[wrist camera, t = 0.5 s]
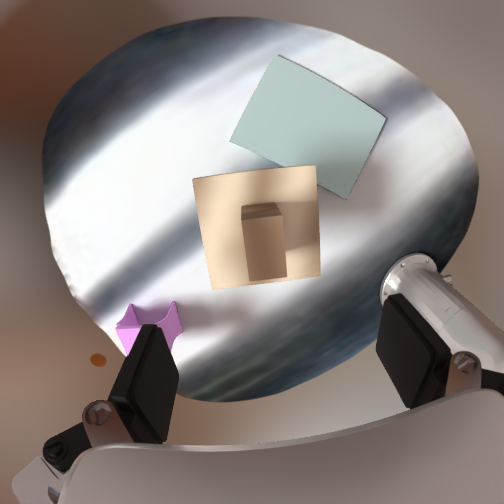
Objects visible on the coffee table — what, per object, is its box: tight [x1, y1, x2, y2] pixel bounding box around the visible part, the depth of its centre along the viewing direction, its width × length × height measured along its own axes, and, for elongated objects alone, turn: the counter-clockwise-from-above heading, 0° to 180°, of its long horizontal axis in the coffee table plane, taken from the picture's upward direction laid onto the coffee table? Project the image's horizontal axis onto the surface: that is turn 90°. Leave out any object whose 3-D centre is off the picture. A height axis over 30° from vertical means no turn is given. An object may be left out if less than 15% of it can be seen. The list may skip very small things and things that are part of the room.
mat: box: [230, 55, 386, 200], centre depth 33 cm, size 18×14×1 cm
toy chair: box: [116, 301, 183, 356], centre depth 37 cm, size 8×9×15 cm
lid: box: [192, 165, 321, 289], centre depth 23 cm, size 11×11×6 cm
